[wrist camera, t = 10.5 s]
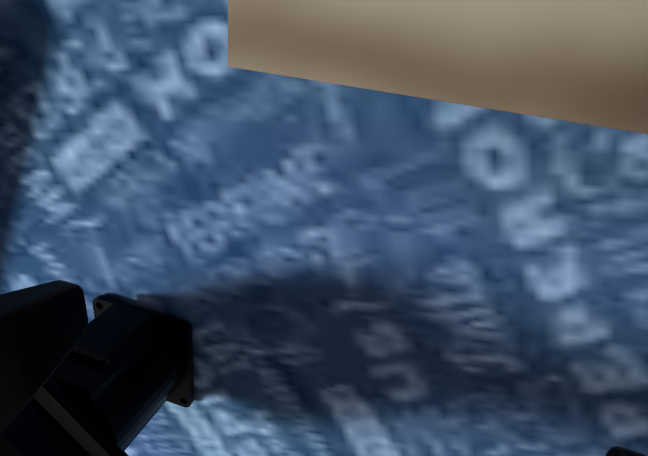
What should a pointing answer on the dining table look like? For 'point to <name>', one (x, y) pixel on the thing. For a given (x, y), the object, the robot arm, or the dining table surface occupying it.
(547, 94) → the brown box
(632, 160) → the dining table surface
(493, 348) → the dining table surface
